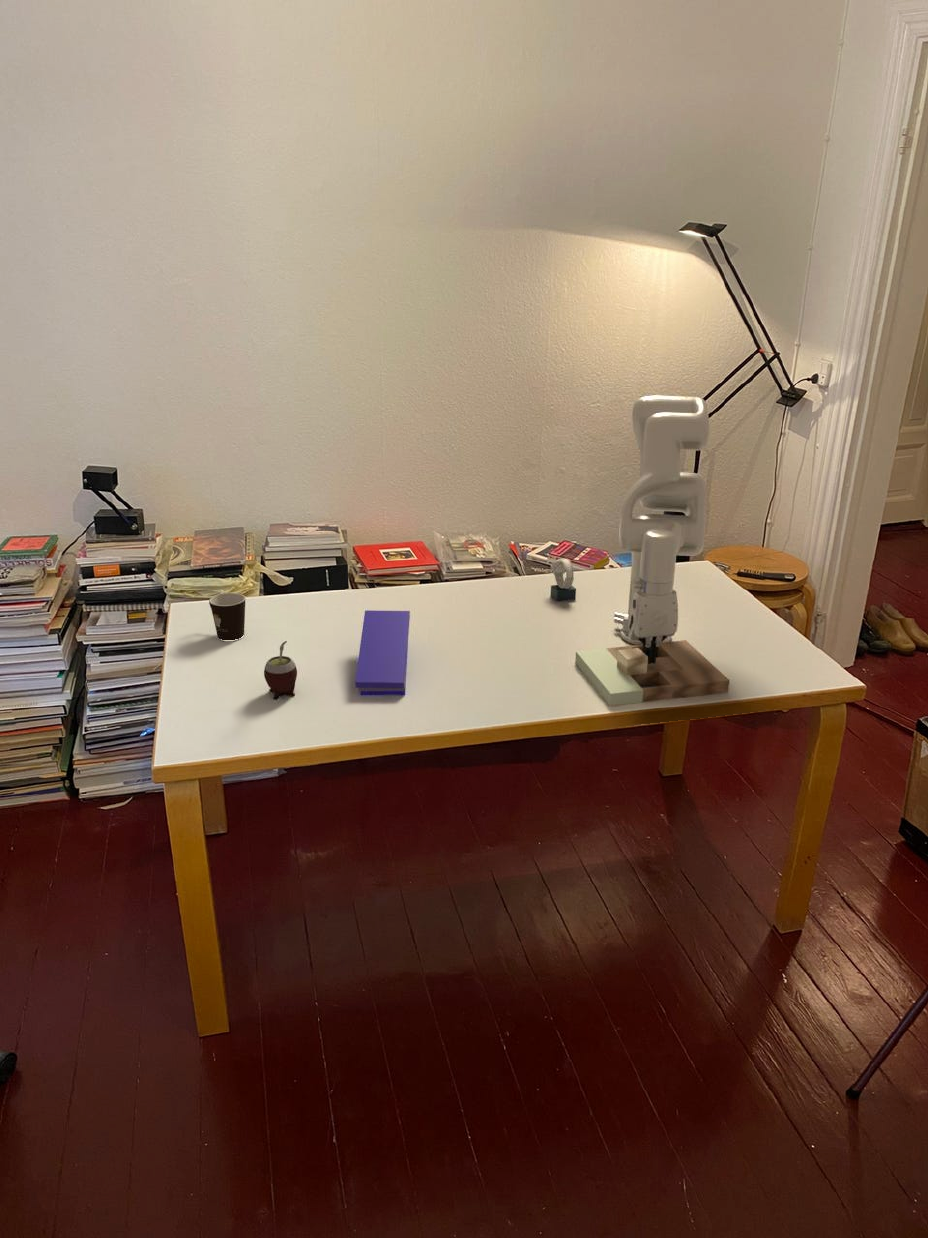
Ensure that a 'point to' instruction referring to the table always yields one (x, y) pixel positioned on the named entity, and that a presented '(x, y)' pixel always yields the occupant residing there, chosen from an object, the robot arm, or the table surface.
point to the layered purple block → (383, 653)
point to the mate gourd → (281, 675)
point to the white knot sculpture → (563, 588)
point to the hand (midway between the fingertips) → (649, 661)
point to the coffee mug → (228, 615)
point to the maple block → (632, 661)
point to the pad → (608, 677)
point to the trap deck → (677, 673)
